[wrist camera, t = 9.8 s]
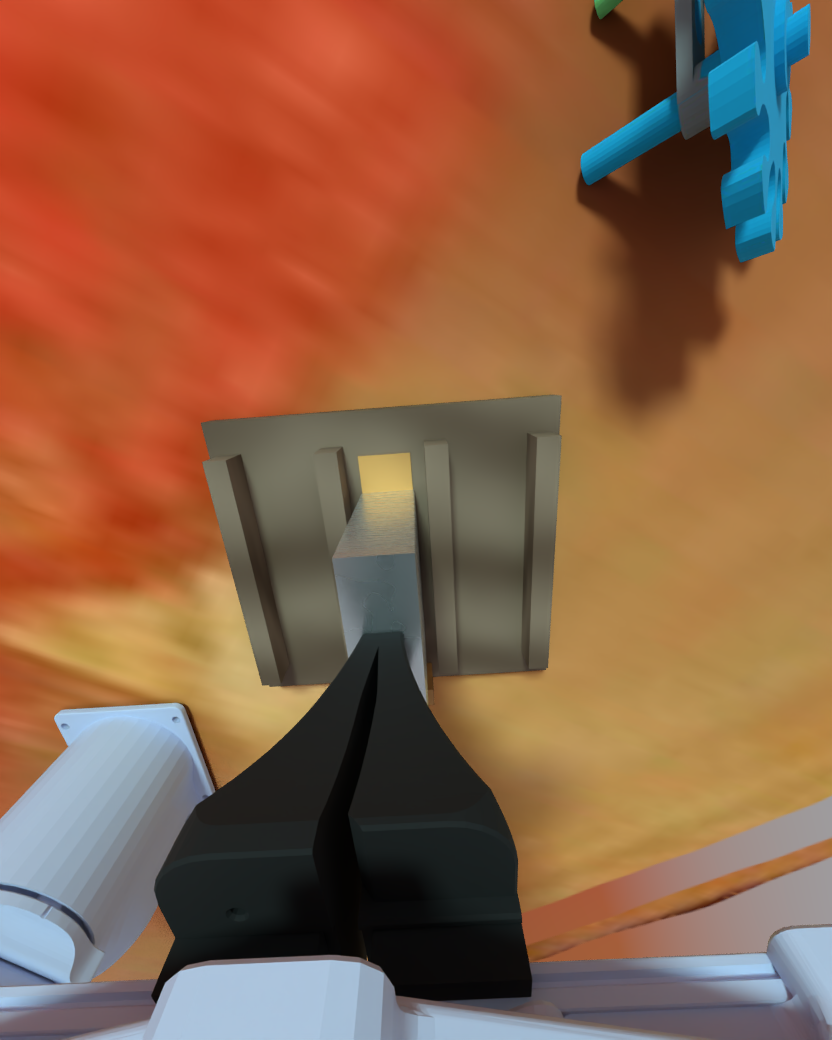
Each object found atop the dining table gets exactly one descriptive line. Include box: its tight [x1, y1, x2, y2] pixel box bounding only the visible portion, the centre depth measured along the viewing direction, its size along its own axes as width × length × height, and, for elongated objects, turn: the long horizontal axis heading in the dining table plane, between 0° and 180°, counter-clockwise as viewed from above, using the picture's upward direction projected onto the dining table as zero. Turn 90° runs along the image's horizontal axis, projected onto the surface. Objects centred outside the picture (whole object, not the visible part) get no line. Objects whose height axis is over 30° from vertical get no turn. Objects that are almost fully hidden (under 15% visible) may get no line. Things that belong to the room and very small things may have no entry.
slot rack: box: [201, 395, 561, 705], centre depth 19 cm, size 15×16×3 cm
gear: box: [581, 0, 810, 263], centre depth 12 cm, size 11×6×10 cm
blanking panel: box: [332, 490, 428, 705], centre depth 16 cm, size 8×2×7 cm, turn 4°
